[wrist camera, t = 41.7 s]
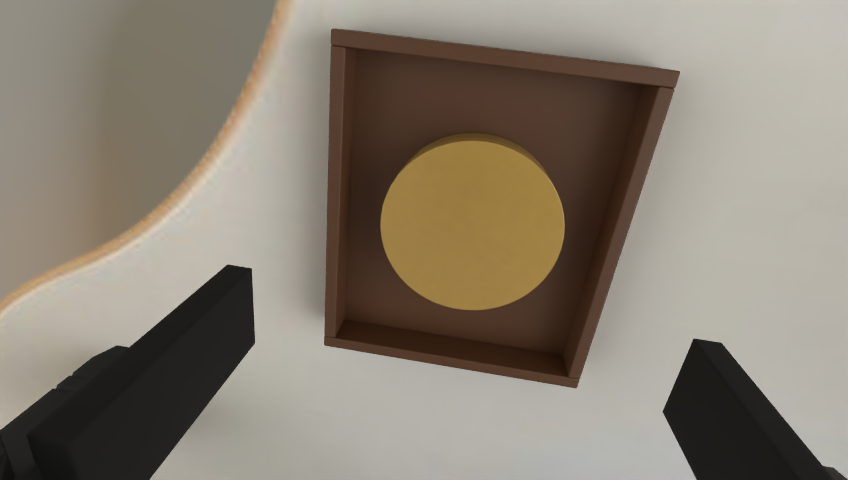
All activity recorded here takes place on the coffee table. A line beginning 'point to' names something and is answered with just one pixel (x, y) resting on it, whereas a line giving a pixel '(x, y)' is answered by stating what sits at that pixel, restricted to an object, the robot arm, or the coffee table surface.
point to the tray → (510, 119)
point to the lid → (472, 222)
